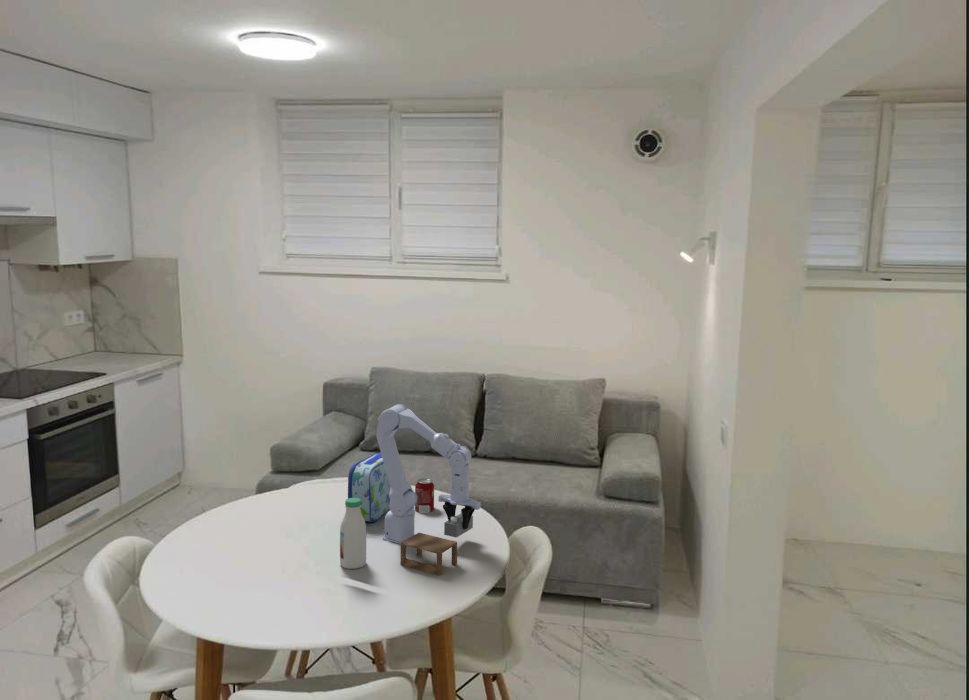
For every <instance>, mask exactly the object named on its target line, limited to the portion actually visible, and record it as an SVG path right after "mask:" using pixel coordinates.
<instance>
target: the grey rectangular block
mask: <svg viewBox="0 0 969 700" xmlns="http://www.w3.org/2000/svg"><path fill="white" fill-rule="evenodd" d="M443 525H444V530H443V531H444V532H443V533H444V534H443V535H444V536H448V537H452V538H458V537H460V536H462V535H463V534H465V533H467V532H468V531H470V530H472V529H473V528H474V527H473V526H474V516H473V515H472V516H471V519H470V522H469V526H468V528H467V529H465V530H464V529H463V517H462V512H461V511H460V513H459V514H457V515H455V516H451V519H450V520H448V519H447V520H446V521H445V522H444V524H443Z"/></svg>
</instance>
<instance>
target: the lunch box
mask: <svg viewBox="0 0 969 700" xmlns="http://www.w3.org/2000/svg"><path fill="white" fill-rule="evenodd" d="M347 476H348V477H347V499H349V498H359V499H361V507H360V510H361V514H362V516H363V518H364V520H365V522H369V523H371V522H372V523H373V522H376V521H378V520H379V519H381V518H382V516H384V515H386V514H387V512H388V511H390V507H389V504H390V498H389V493H390V489H391V486H390V482H389V479H388V475H387V472H386V468H385V465H384V461H383V458H382V454H381V451H379V452H376V453H373V454H371V455H369V456H367V457H365V458H363V459H362V460H359V461H357V462H355V463H353V464H352V465H351V466H350V468H349V471H348V475H347Z"/></svg>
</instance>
